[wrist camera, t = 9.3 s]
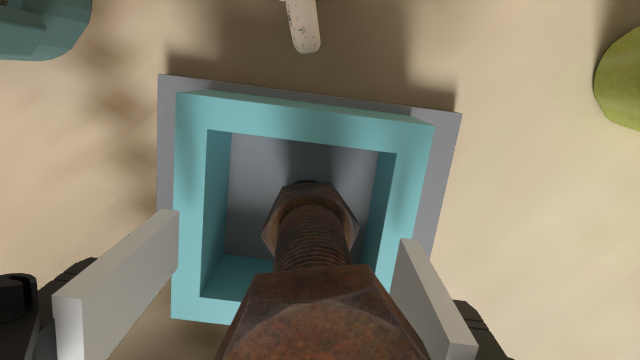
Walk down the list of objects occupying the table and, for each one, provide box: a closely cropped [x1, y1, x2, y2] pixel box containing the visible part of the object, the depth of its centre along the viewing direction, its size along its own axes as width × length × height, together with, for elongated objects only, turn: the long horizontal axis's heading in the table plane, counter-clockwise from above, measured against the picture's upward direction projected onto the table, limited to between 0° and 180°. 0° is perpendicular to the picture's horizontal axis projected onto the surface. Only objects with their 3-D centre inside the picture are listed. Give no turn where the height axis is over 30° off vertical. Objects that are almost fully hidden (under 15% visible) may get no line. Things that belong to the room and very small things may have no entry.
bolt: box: [214, 180, 431, 360], centre depth 16 cm, size 6×5×15 cm
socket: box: [157, 74, 462, 325], centre depth 22 cm, size 18×13×6 cm
